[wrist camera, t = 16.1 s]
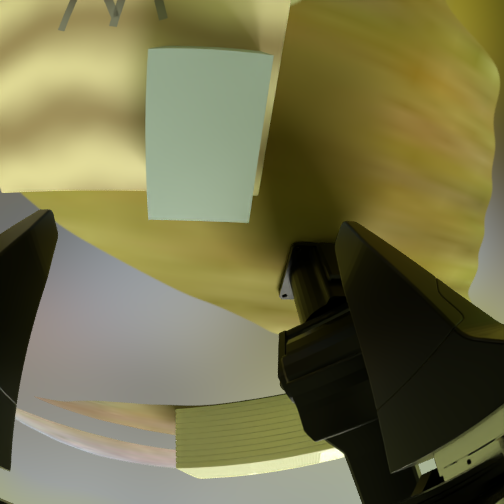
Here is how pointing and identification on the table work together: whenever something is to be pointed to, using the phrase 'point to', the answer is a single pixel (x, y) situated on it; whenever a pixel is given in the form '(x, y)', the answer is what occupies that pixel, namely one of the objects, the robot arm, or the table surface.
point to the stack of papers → (246, 439)
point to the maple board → (105, 82)
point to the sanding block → (204, 131)
